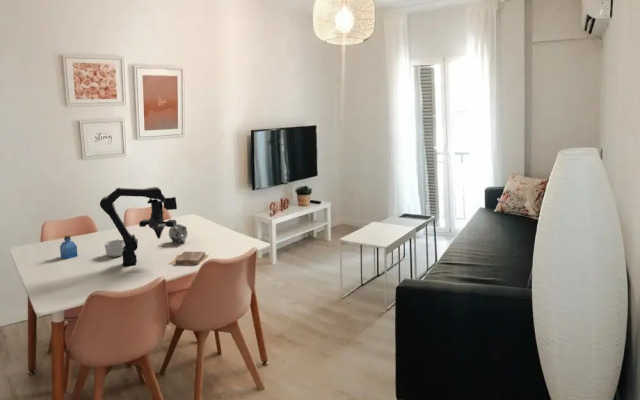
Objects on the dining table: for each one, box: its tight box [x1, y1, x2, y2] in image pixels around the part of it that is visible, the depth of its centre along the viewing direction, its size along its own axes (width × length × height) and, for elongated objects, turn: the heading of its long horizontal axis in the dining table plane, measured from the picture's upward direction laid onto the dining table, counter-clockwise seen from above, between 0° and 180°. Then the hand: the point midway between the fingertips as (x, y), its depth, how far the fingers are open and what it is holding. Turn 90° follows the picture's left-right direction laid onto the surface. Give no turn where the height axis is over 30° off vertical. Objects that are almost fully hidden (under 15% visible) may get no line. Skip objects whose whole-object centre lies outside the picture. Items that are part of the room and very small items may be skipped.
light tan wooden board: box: [168, 254, 210, 266], centre depth 271 cm, size 18×17×1 cm
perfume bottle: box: [59, 235, 79, 260], centre depth 275 cm, size 6×6×12 cm
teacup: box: [104, 238, 125, 258], centre depth 280 cm, size 14×11×8 cm
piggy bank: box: [168, 223, 188, 245], centre depth 303 cm, size 11×15×12 cm
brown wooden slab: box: [176, 251, 206, 266], centre depth 269 cm, size 2×15×12 cm
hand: (159, 238), depth 267 cm, fingers closed
